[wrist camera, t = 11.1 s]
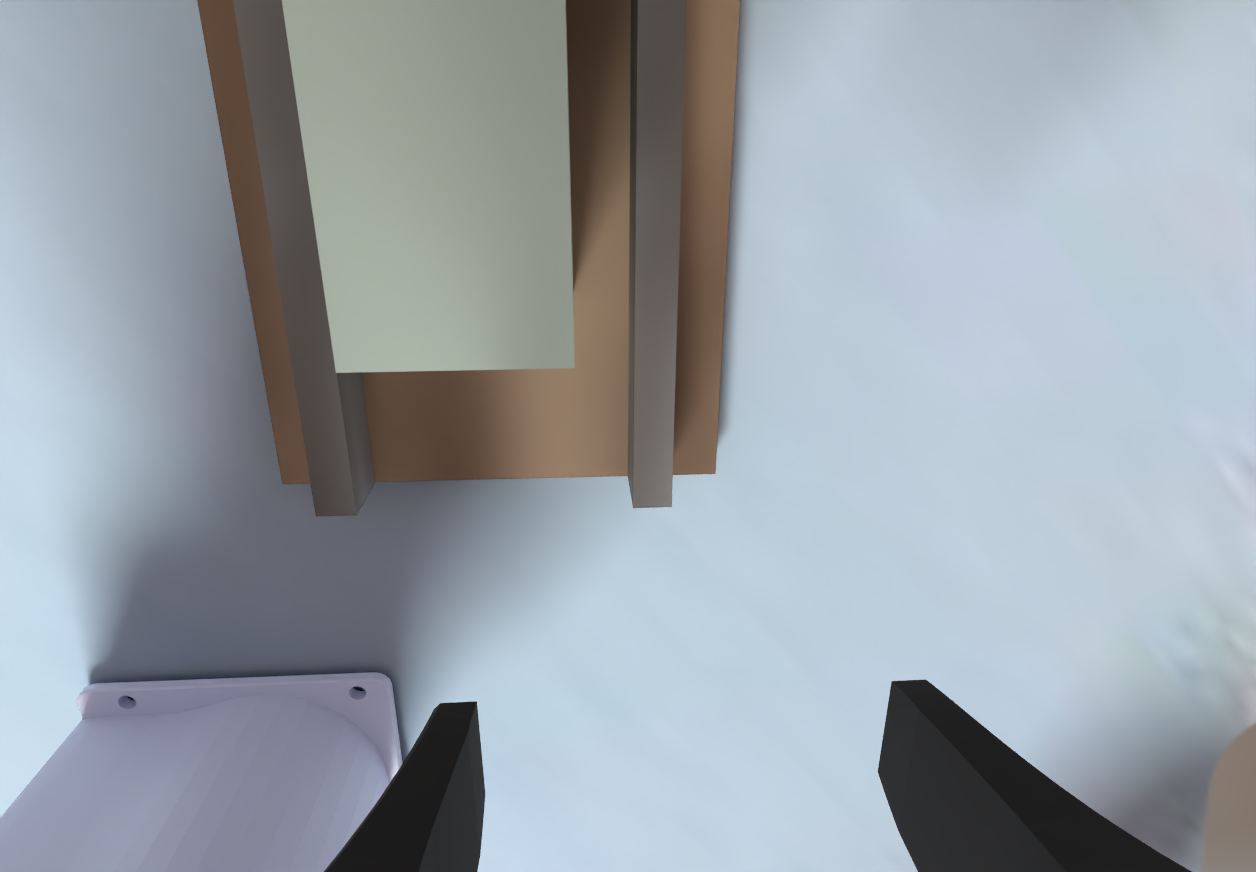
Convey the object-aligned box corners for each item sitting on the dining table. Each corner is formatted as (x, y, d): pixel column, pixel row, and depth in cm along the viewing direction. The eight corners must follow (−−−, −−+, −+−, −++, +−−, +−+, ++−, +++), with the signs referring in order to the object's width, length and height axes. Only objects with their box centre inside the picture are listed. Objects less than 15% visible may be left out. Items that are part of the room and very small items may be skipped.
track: (294, 469, 22) (200, 583, 16) (133, -490, 15) (-138, -877, 9) (709, 460, 23) (754, 565, 17) (754, -454, 15) (857, -788, 10)
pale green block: (415, 292, 19) (335, 372, 13) (352, -320, 15) (184, -672, 8) (573, 290, 20) (574, 368, 13) (557, -313, 15) (548, -647, 9)
